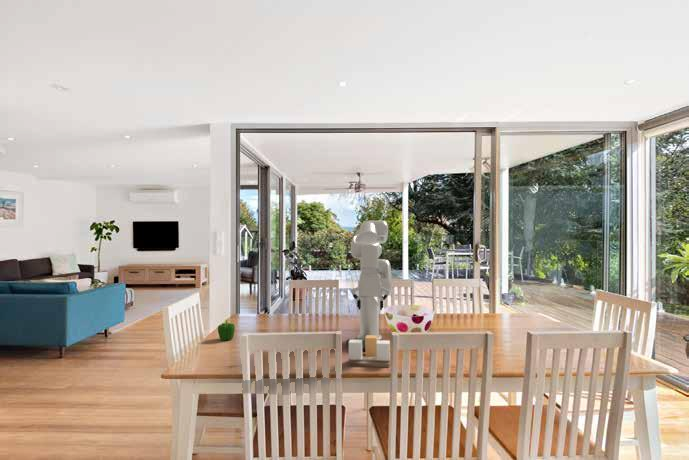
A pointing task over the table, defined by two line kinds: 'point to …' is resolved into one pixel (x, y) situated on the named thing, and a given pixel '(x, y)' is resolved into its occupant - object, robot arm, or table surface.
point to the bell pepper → (226, 331)
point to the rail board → (369, 361)
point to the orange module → (371, 345)
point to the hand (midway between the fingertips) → (370, 309)
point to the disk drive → (357, 339)
